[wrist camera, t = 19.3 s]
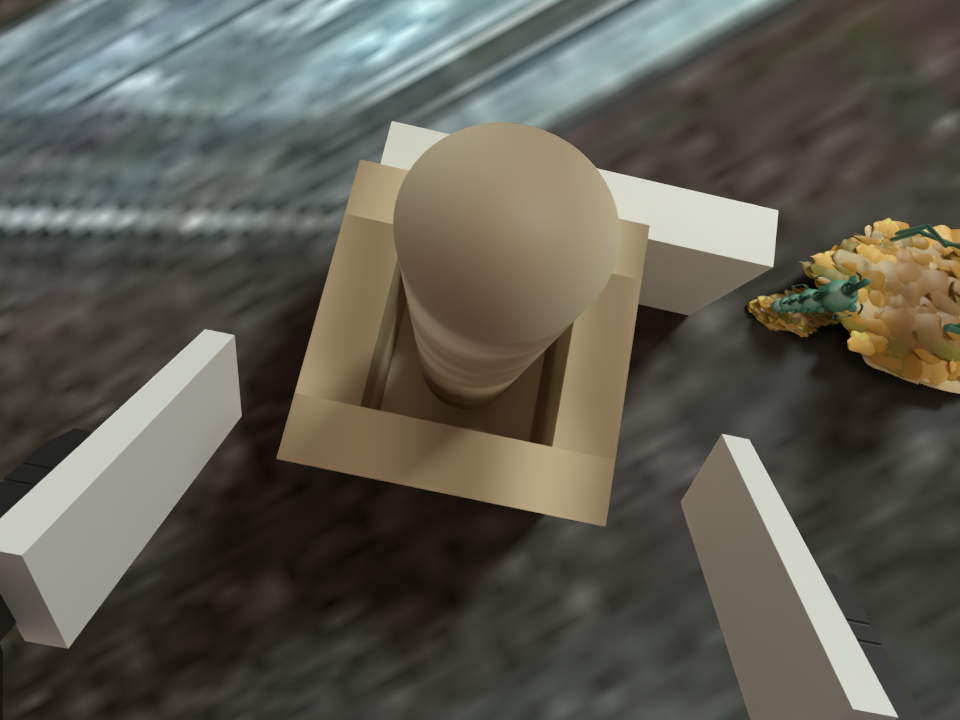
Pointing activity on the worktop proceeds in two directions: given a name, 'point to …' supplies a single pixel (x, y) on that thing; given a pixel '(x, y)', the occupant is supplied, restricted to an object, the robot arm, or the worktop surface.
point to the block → (440, 427)
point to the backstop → (662, 231)
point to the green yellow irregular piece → (884, 300)
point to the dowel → (499, 253)
